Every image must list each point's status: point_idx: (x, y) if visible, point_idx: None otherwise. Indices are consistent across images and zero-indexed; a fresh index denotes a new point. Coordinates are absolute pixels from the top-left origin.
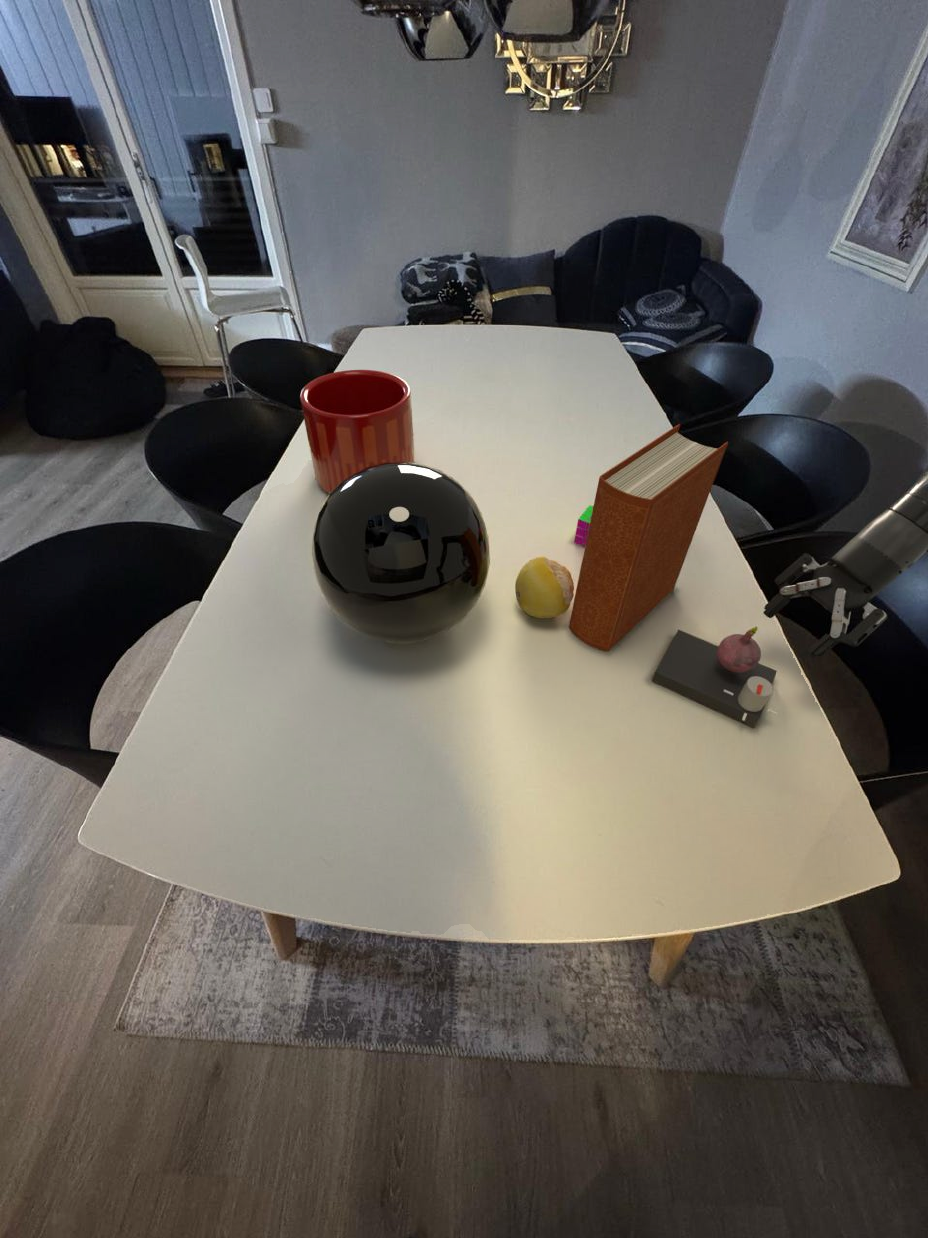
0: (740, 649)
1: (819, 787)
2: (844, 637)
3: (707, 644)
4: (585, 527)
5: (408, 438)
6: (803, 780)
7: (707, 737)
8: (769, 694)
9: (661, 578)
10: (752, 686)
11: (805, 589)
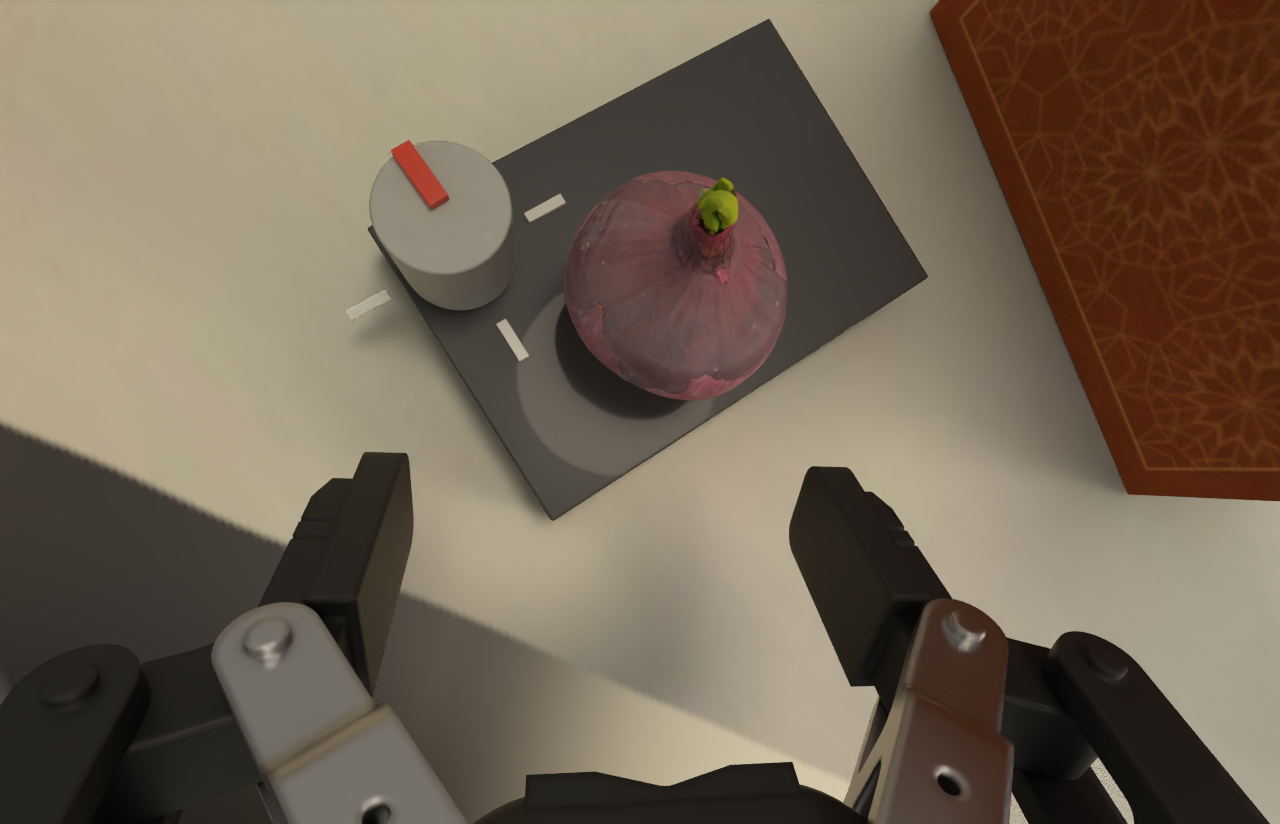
0: (664, 201)
1: (25, 278)
2: (173, 699)
3: (809, 333)
4: None
5: None
6: (86, 244)
7: (434, 58)
8: (370, 203)
9: (1264, 242)
10: (456, 165)
11: (898, 750)
